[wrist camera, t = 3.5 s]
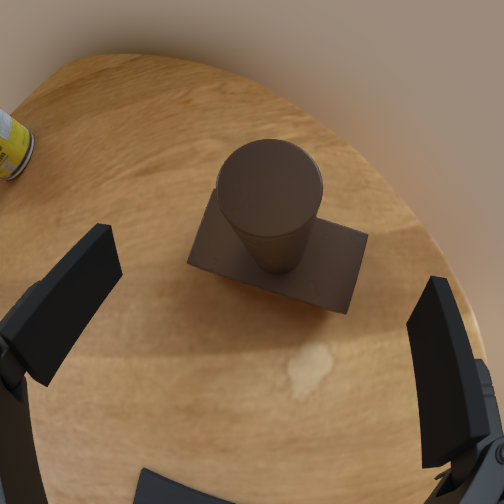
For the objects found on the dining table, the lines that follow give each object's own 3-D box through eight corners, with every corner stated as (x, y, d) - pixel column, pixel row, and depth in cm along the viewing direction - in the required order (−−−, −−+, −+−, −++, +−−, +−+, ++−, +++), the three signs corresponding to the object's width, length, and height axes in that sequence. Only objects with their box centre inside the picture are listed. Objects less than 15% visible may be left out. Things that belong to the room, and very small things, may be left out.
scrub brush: (354, 246, 22) (443, 163, 8) (335, 312, 21) (415, 325, 7) (225, 206, 23) (153, 91, 10) (202, 270, 23) (92, 221, 9)
